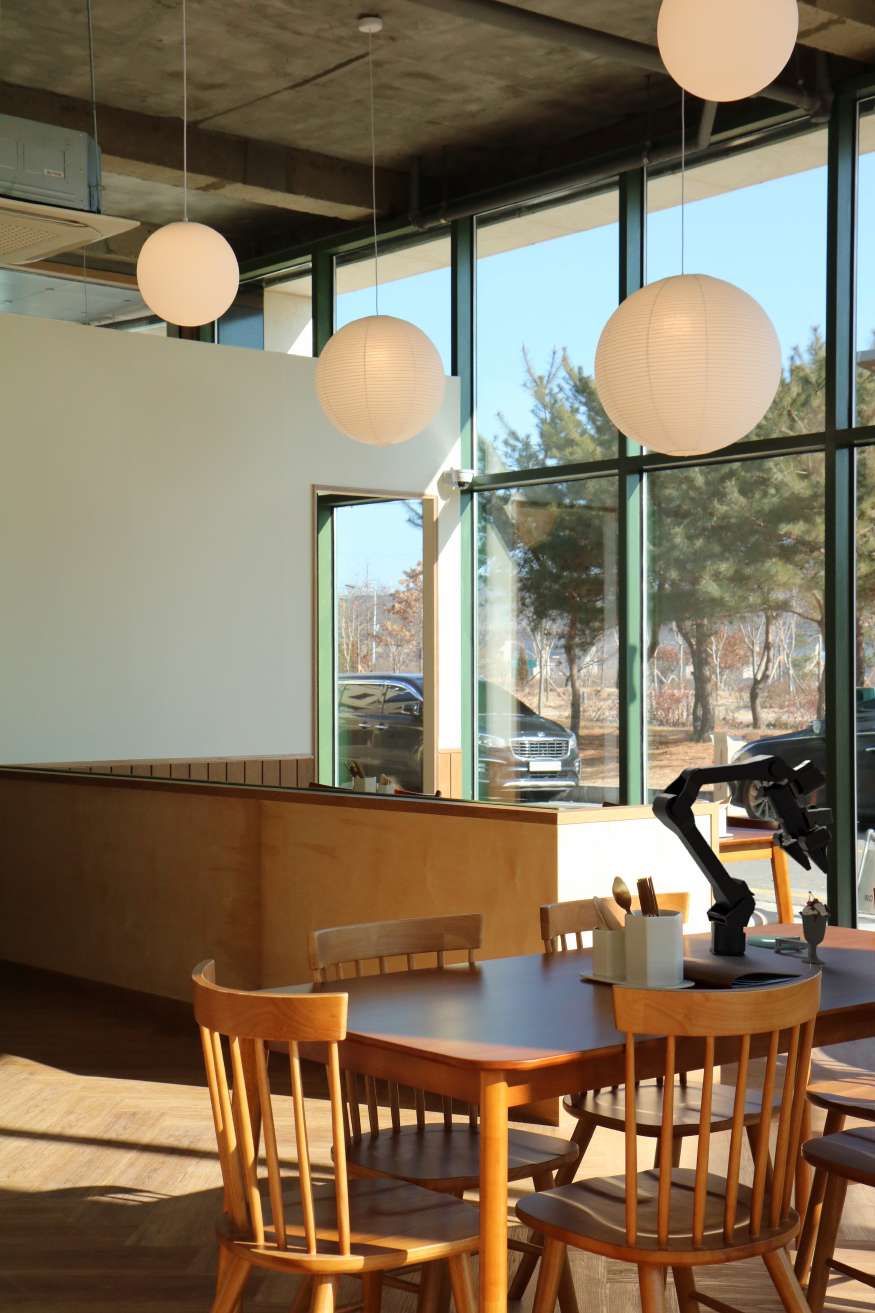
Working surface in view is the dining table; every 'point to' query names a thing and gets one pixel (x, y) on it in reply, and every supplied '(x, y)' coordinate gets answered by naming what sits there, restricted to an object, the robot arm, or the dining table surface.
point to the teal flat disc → (767, 941)
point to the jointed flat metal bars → (791, 943)
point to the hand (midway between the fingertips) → (818, 871)
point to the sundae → (814, 926)
